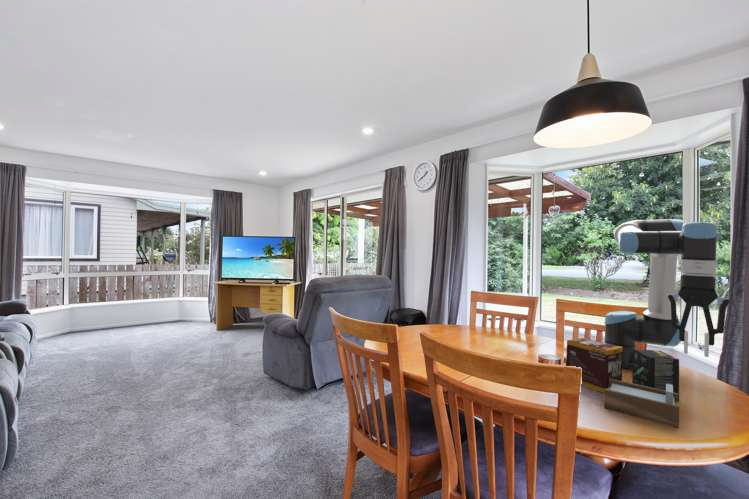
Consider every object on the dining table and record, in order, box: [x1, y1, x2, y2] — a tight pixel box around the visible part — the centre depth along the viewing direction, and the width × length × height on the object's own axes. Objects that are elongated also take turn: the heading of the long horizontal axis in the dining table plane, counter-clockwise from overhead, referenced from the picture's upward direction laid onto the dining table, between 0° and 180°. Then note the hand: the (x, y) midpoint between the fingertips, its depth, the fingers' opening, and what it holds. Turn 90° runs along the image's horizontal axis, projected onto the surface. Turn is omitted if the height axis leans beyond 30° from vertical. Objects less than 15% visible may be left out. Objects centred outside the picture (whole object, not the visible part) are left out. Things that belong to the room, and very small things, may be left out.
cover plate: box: [610, 383, 674, 404], centre depth 110 cm, size 10×16×5 cm, turn 50°
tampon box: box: [631, 348, 680, 403], centre depth 122 cm, size 11×9×15 cm
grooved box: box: [603, 379, 680, 429], centre depth 110 cm, size 13×18×6 cm
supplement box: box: [565, 337, 623, 394], centre depth 131 cm, size 10×15×16 cm
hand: (695, 354), depth 101 cm, fingers open, 4 cm apart
